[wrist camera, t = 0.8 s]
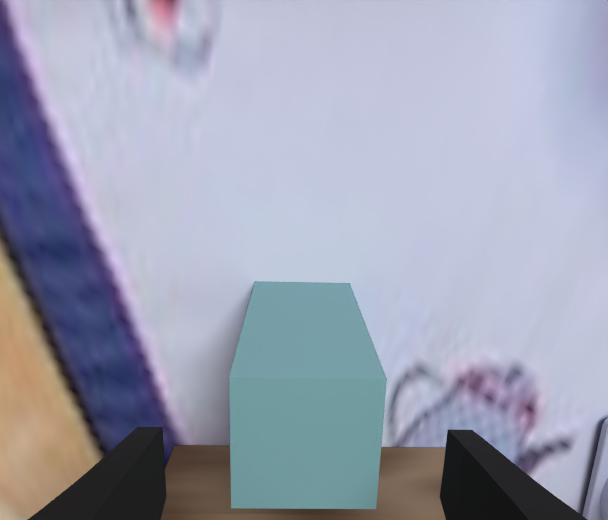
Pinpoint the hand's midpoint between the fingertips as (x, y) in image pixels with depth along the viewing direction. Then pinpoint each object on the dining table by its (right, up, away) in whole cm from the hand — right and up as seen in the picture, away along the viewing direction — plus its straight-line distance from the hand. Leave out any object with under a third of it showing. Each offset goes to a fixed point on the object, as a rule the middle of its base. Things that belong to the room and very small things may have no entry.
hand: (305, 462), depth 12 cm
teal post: (0, +2, +8) cm, 9 cm away
